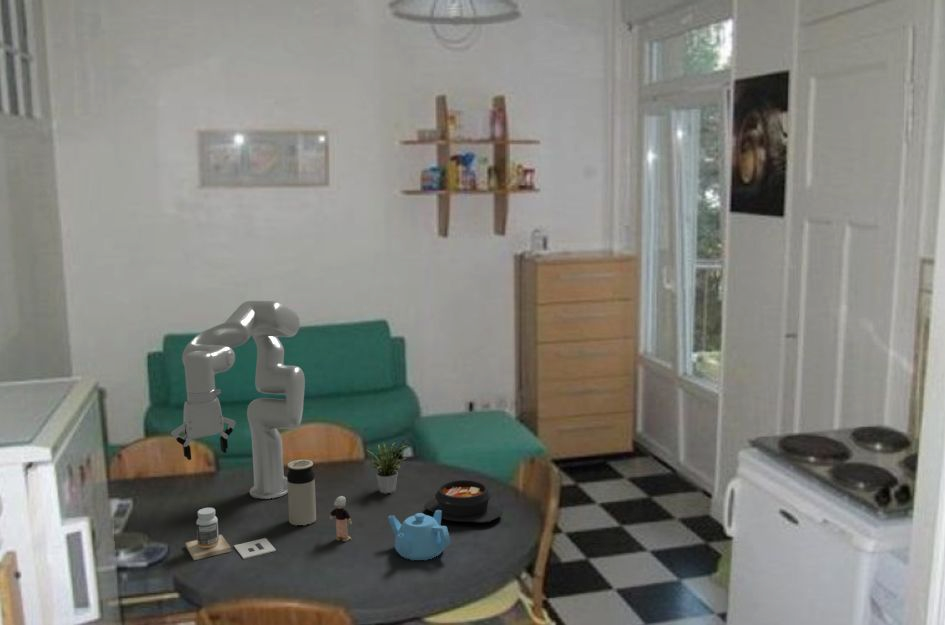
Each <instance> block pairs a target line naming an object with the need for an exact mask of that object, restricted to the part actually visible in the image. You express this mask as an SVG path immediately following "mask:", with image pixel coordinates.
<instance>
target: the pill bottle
mask: <svg viewBox="0 0 945 625" xmlns="http://www.w3.org/2000/svg"><path fill="white" fill-rule="evenodd" d="M197 517H198V518H197V519H196V523H195V525H196V537H197V539H196V540H197V541H198V546H199V547H201V548H211V547H214V546H216V545H217V544H218V543H219V535H220V534H219V531H220V530H219V519H218V516H216V509H215V508H214V507H203V508H201V509H199V510H198V511H197Z"/></svg>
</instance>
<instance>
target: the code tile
mask: <svg viewBox="0 0 945 625" xmlns="http://www.w3.org/2000/svg"><path fill="white" fill-rule="evenodd" d="M233 547H234V548H235V550H236V551H237V552H238V554H239V555H240V556H241V558H242V559H243V560H244V559H245V560H246V559H250V558H253V557H258V556H261V555H267V554H270V553H274V552H276V551H277V550H276V548H275V547H274V546H273V545H272V543H271V542H270V541H269V540H268V538H266V537H264V538H260V539H256V540H252V541H248V542H247V541H246V542H243V543H239V544H238V543H237V544H235V545H233Z"/></svg>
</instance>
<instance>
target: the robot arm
mask: <svg viewBox="0 0 945 625" xmlns="http://www.w3.org/2000/svg"><path fill="white" fill-rule="evenodd" d="M240 304H241V305H239V306H238V307H237V308H236V309H235V310H234V312H233V313H232V314H231V315H230V316H229V317H228V319H227V320H225V322H222V323H220V324H217V325H215V326H213V327H210V328H207V329H206V330H203V331H202V332H199V333H198V334H196V335H195V336H194V337H193V338H192V339H191V340H190V342H188V343H187V345H186V346H185V348H184V349H183V352H182V356H181V359H182V364H183V366H184V375H185V385H186V386H185V387H186V388H185V389H186V399H187V400H186V401H184V404H183V419H182V421H183V423H182V424H181V425H179V426H178V427H177V428H175V429H174V430H172V431H171V435H172V436H173V438H174V439H175V440H176V442H177V443H179V444H180V445H182V449H183V451H182V452H183V456H184V458H186V459H187V460H188V461H191V460H192V452H191V451H192V449H191V445H190V443H191V442H192V440H194V439H201V438H205V437H206V438H207V437H211V436H216V435H219V436H220V437H219V441H220V442H219V443H220V451H221V452H222V453H224V454H227V450H228V447H229V446H228V439H229V437H230V436H231V434H232V433H233V431H234V428H235V426H236V423H237V422H236V421H235V419H231V418H228V417H224V416H223V412H222V407H221V406H222V405H221V403H220V400H219V398H218V395H220V394H221V393H222V390H221V389H220V388H216V379H215V375H216V374H220V373H224V372H227V371H229V370H230V369H231V368H232V367H233V365H234V364H235V361H236V354H235V352H234V350H233V348H237V347H240V346H243V345H244V344H246V343H247V342H248V340H249V339H251V337H252V339H253V341H254V343H255V346H256V352H257V353H256V365H255V366H256V367H255V381H254V384H255V385H254V386H255V389H256V390H257V392H259V393H261V394H265V395H266V394H267V395H268V394H269V395H285V398H275V397H273V398H271V397H259V398H256V399H253V400H252V401H250V403H249V404H248V406H247V411H246V416H247V422H248V424H249V429H250V434H251V435H250V436H251V447H252V448H251V449H252V464H253V465H252V466H253V467H252V468H253V486H252V487H251V488H250V489H249V495H250V496H251V497H252V498H255V499H258V498H259V500H270V499H271V498H272V499H276V498H280V497H283V496H285V495H286V494H287V495H288V485H287V476H285V474H284V471H285V470H284V458H283V457H284V456H283V455H284V454H283V452H284V450H283V438H282V436H281V433H280V431H279V430H295V429H297V428H298V427H299V426H300V425H301V423H302V418H303V412H304V400H305V388H306V387H305V385H306V378H305V377H306V376H305V374H304V371H303V370H302V368H301V367H299V366H297V365H288V364H287V365H286V364H284V362H285V361H284V360H285V348H284V345H283V344H282V342H281V341H280V339H279V338H292V337H295V336H296V334H297V333H298V332H299V330H300V327H301V326H300V324H301V323H300V318H299V316H298V314H297V313H296V311H294V310H293V309H291V308H289V307H287V306H286V305H284V304H283V303H281V302H278V301H274V300H247V301H244V302H243V303H240ZM225 424H228V426H227V427H226V429H225ZM182 432H183V433H184V435H185V436H184V437H183V438H182V437H181V436H180V434H181V433H182Z"/></svg>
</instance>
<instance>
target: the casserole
mask: <svg viewBox="0 0 945 625" xmlns="http://www.w3.org/2000/svg"><path fill="white" fill-rule="evenodd" d="M490 498H492V493H491V492H490V491H489V488H488V486H487V485H485V484H484V483H482V482H480V481H475V480H469V479H468V480H467V479H464V480H463V479H461V480H452V481H448V482H447V481H446V482H445V483H442V484H441V485H440V486H439V487H438V489H437V492H436V493H435V495H434V497H433V498H432V499H430V500H428V501H427V502H426V503H425V504H424V508H425V509H426V510H428V511H430V512H432V513H433V515H434V514H435V511H437V510H441V511H442V515H441V520H442V519H443V520H446V521H451V522H458V523H459V522H462V523H463V522H464V523H465V522H466V523H467V522H468V523H478V524H481V523H483V524H485V523H489V522H491V521H495V520H496V519H498V518H500V517H501V516H502V515H503V510H502V508H500V507H499V506H496V505H494V504H493V503H491V502H489V500H490Z"/></svg>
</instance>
